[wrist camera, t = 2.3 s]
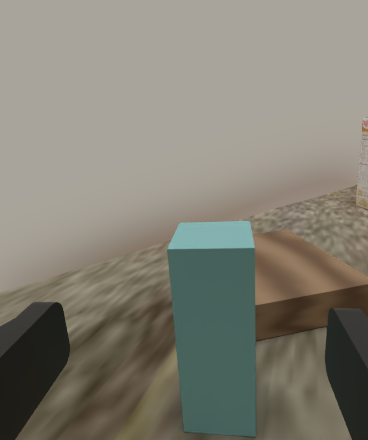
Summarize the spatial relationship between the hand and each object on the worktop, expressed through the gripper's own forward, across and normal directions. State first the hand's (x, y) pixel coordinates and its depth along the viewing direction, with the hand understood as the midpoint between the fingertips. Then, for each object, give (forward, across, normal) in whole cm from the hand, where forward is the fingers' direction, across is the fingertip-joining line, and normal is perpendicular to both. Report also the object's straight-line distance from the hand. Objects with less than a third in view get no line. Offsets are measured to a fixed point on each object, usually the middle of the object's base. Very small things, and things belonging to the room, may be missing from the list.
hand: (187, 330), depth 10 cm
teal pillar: (+12, 0, +15) cm, 19 cm away
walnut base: (+29, -5, +14) cm, 33 cm away
